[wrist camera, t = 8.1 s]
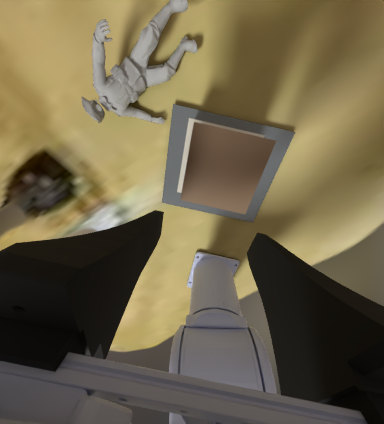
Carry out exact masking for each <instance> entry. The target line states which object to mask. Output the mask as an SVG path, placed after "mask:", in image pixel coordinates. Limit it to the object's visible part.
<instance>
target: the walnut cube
mask: <svg viewBox="0 0 384 424" xmlns="http://www.w3.org/2000/svg"><path fill="white" fill-rule="evenodd" d="M275 143H276V141H275V140H271V139H267V138H262V137H258V136H254V135H249V134H245V133H240V132H236V131H232V130H227V129H223V128H219V127H214V126H210V125H206V124H201V123H197V122H194V124H193V130H192V136H191V141H190V147H189V153H188V158H187V164H186V170H185V176H184V181H183V187H182V193H181V198H180V200H182V201H187V202H191V203H196V204H200V205H205V206H209V207H214V208H219V209H223V210H228V211H232V212H237V213H241V214H246V211H247V209H248V207H249V204H250V202H251V200H252V197H253V195H254V192H255V190H256V188H257V185H258V183H259V181H260V178H261V176H262V174H263V171H264V169H265V167H266V164H267V162H268V160H269V157H270V155H271V153H272V150H273V148H274V146H275Z"/></svg>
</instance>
